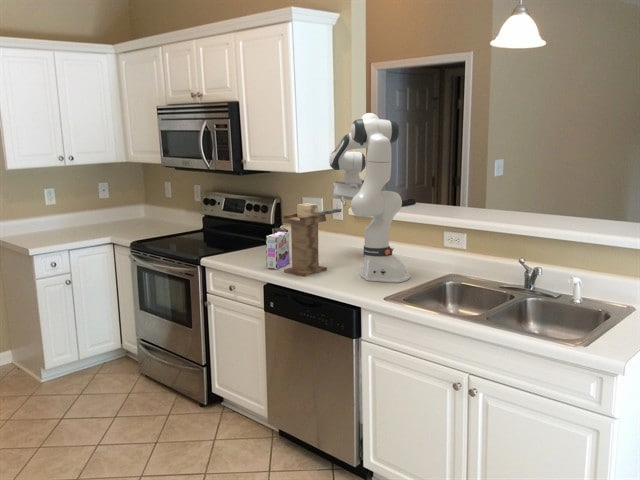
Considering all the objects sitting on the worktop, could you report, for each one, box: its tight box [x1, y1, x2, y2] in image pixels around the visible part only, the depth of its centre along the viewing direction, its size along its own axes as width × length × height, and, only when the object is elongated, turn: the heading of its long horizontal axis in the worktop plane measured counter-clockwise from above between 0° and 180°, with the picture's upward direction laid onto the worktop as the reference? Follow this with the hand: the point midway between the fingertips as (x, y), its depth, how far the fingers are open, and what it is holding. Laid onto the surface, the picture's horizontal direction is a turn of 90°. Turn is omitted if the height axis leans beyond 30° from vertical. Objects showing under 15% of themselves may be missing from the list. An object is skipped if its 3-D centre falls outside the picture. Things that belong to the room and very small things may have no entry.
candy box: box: [265, 231, 291, 270], centre depth 293 cm, size 14×6×16 cm, turn 155°
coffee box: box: [271, 227, 289, 234], centre depth 309 cm, size 9×6×16 cm
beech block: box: [296, 202, 342, 217], centre depth 287 cm, size 26×8×6 cm, turn 137°
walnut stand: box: [282, 212, 328, 278], centre depth 281 cm, size 16×13×28 cm
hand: (353, 206), depth 301 cm, fingers open, 8 cm apart
